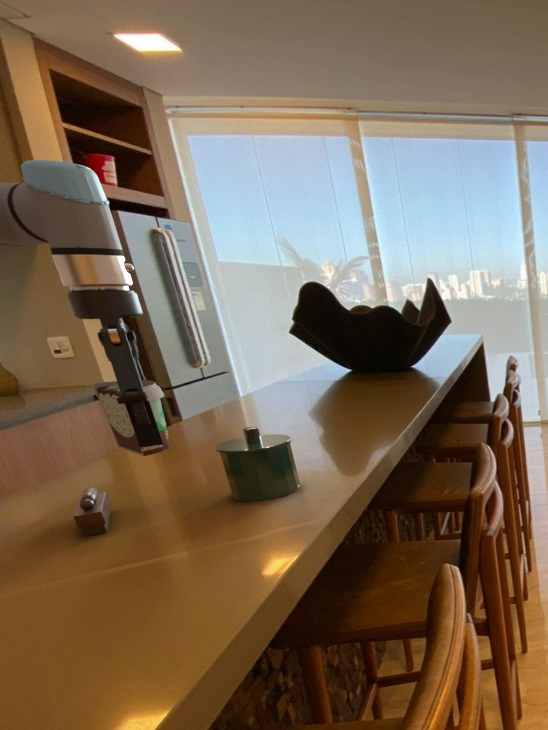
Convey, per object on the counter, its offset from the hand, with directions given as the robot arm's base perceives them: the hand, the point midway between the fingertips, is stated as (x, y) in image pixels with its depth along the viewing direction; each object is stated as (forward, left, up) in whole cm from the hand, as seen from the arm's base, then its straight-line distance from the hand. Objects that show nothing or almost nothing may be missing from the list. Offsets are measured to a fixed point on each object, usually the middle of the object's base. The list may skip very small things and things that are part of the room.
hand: (152, 437), depth 88 cm
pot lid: (0, +13, -3) cm, 13 cm away
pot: (0, +13, -12) cm, 18 cm away
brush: (0, -10, -12) cm, 15 cm away
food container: (-1, 0, -2) cm, 2 cm away
